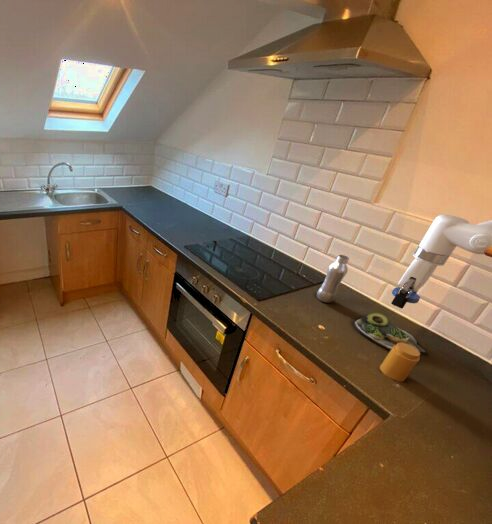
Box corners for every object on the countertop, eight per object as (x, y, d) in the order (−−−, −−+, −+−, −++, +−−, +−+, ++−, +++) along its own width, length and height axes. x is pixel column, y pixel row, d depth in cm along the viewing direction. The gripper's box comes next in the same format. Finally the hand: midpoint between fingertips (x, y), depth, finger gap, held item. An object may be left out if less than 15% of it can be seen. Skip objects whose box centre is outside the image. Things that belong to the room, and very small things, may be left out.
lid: (394, 298, 97) (397, 294, 96) (389, 289, 103) (392, 284, 102) (420, 306, 94) (423, 301, 94) (414, 295, 100) (416, 291, 99)
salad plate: (432, 348, 102) (439, 338, 99) (408, 365, 93) (416, 354, 91) (371, 315, 116) (377, 305, 114) (346, 327, 108) (352, 317, 105)
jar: (400, 372, 90) (418, 346, 85) (406, 387, 85) (426, 360, 80) (376, 364, 92) (392, 338, 87) (380, 378, 87) (398, 351, 82)
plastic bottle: (335, 302, 122) (356, 258, 113) (327, 306, 119) (348, 262, 109) (320, 294, 127) (339, 251, 117) (311, 298, 123) (331, 254, 114)
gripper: (424, 246, 99) (397, 291, 107) (406, 255, 89) (377, 303, 98) (454, 255, 93) (422, 302, 102) (437, 266, 84) (404, 316, 92)
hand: (401, 302), depth 100 cm, fingers closed on lid, 6 cm apart
